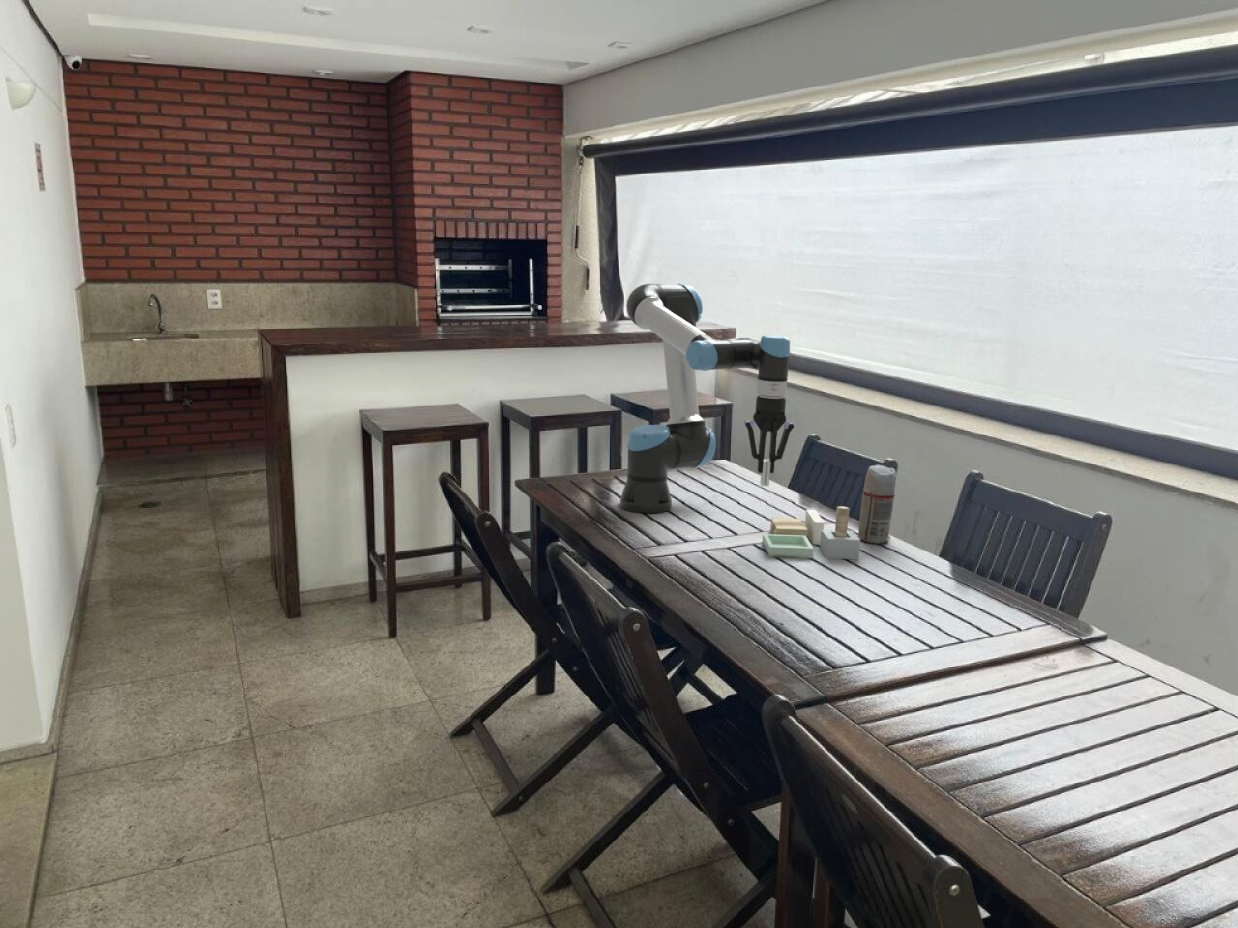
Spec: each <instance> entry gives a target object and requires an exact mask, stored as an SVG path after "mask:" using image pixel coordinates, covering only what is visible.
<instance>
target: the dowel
mask: <svg viewBox="0 0 1238 928" xmlns="http://www.w3.org/2000/svg"><path fill="white" fill-rule="evenodd" d="M835 515H836V516H835V526H834V530H835V536H834V537H847V530H848V528H849V527H848V525H849V516H850V507H847V506H837V507H836V514H835Z"/></svg>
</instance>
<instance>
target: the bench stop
mask: <svg viewBox="0 0 1238 928" xmlns="http://www.w3.org/2000/svg"><path fill="white" fill-rule="evenodd" d="M804 525H805V527H806V528H807V530H808V532H807V538H808V540H809V542H810V543H811V545H818V546H820V543H821V531H822V530H825V521H824V520H823V519H822V517H821V515H819V512H817V510H816V509H805V519H804Z"/></svg>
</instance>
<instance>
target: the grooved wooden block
mask: <svg viewBox="0 0 1238 928" xmlns="http://www.w3.org/2000/svg"><path fill="white" fill-rule="evenodd" d="M769 528H770V529H769V531H770V534H777V535H805V536H806V537H807V538H808V536H807V532H808V530H807V528H806V527H805V522H803V521H802V519H801V518H785V517H784V518H782V517H781V518H779V517H778V518H777V517H771V518H770V527H769Z"/></svg>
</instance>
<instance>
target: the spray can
mask: <svg viewBox="0 0 1238 928" xmlns="http://www.w3.org/2000/svg"><path fill="white" fill-rule="evenodd" d="M897 476H898V475H897V472H896V470H895V469H894V468H893V467H887V466H886V465H883V464H879V463H878V464H874V465H870V466H869V467H868V469H867V471H866V475H865V479H864V485H863V490H862V496H861V503H860V512H859V519H858V533H857V537H858V538H859V539H860V541H862V542H865V543H871V544H885V543H887V542H888V541H887V540H888V538H889V533H890V526H891V520H892V513H893V507H894V501H895V495H896V494H895V492H896V481H897Z"/></svg>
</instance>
